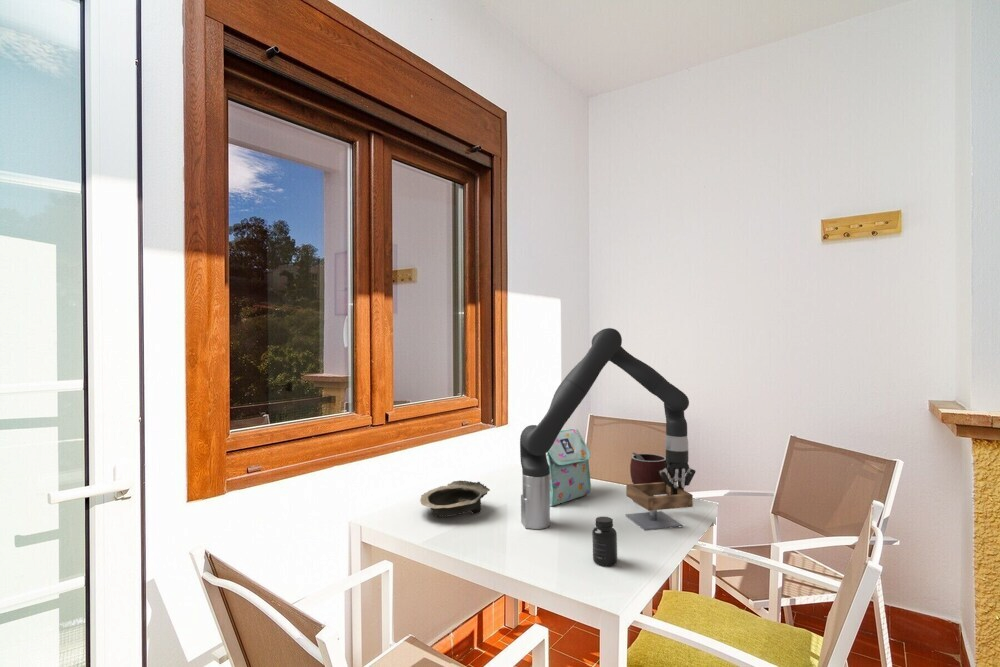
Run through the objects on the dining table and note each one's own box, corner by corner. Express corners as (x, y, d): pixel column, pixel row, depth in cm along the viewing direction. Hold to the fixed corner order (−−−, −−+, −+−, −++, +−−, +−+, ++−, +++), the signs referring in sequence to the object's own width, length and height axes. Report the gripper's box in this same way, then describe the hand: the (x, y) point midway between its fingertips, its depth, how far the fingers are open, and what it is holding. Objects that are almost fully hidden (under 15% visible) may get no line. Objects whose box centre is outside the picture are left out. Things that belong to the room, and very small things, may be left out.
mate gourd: (647, 494, 206) (647, 444, 206) (676, 503, 194) (675, 450, 194) (619, 501, 198) (619, 449, 198) (647, 511, 186) (647, 456, 186)
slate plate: (644, 530, 167) (644, 528, 167) (625, 515, 181) (625, 514, 181) (683, 526, 170) (682, 525, 170) (661, 512, 184) (661, 511, 184)
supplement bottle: (599, 554, 149) (599, 513, 149) (621, 560, 145) (621, 518, 145) (588, 562, 144) (587, 519, 144) (610, 569, 140) (609, 525, 140)
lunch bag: (554, 509, 189) (553, 436, 189) (524, 498, 201) (523, 430, 202) (594, 496, 203) (594, 429, 203) (564, 487, 216) (564, 423, 216)
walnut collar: (648, 510, 167) (648, 498, 167) (626, 496, 182) (626, 484, 182) (692, 506, 170) (692, 494, 170) (667, 492, 186) (667, 481, 186)
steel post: (651, 520, 174) (651, 500, 174) (648, 518, 177) (647, 498, 177) (658, 520, 175) (658, 499, 175) (654, 517, 177) (654, 497, 177)
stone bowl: (499, 505, 192) (498, 481, 192) (468, 534, 170) (467, 507, 169) (443, 496, 203) (442, 474, 202) (406, 522, 180) (405, 496, 180)
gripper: (664, 451, 173) (665, 502, 173) (700, 449, 176) (701, 499, 175) (653, 446, 180) (654, 496, 180) (688, 444, 183) (689, 493, 183)
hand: (677, 497), depth 178 cm, fingers closed on walnut collar, 1 cm apart
